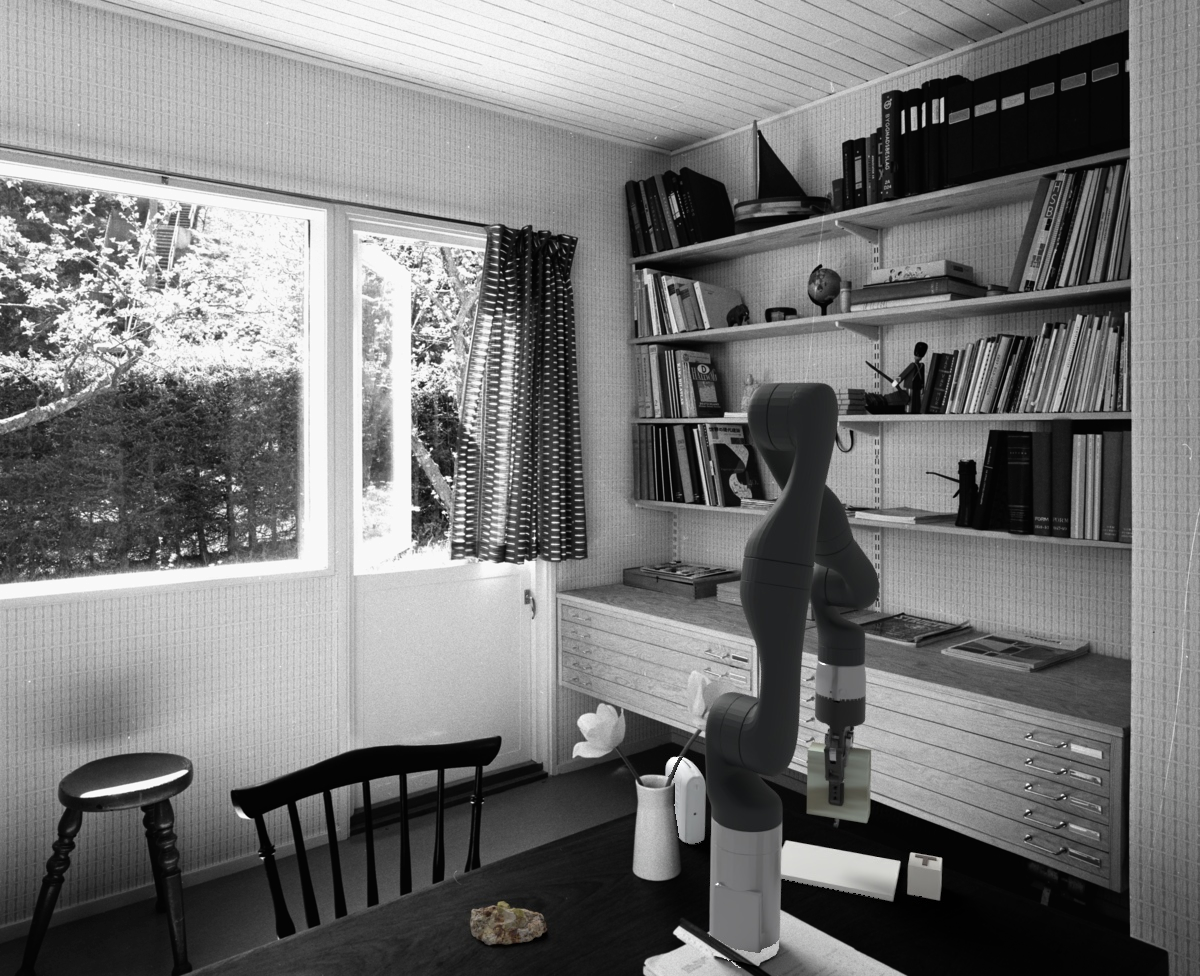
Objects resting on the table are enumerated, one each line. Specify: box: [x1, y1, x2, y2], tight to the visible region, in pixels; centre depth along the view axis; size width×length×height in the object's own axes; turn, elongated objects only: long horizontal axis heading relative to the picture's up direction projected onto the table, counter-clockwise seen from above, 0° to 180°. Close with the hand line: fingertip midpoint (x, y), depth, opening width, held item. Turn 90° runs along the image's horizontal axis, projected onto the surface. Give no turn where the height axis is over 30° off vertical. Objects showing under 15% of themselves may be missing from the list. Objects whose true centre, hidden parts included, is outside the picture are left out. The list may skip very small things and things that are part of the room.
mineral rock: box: [469, 900, 548, 946], centre depth 123 cm, size 11×4×8 cm
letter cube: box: [906, 852, 943, 901], centre depth 135 cm, size 4×4×5 cm
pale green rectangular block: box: [806, 741, 872, 824], centre depth 140 cm, size 4×9×10 cm, turn 67°
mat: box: [781, 840, 901, 902], centre depth 141 cm, size 12×18×1 cm, turn 67°
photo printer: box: [665, 756, 707, 845], centre depth 154 cm, size 10×4×12 cm, turn 17°
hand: (838, 798), depth 140 cm, fingers closed on pale green rectangular block, 4 cm apart
